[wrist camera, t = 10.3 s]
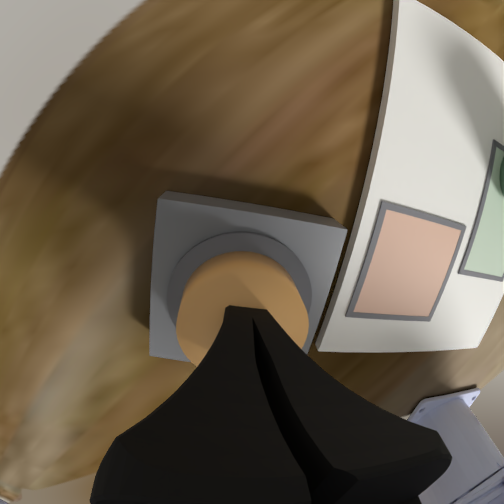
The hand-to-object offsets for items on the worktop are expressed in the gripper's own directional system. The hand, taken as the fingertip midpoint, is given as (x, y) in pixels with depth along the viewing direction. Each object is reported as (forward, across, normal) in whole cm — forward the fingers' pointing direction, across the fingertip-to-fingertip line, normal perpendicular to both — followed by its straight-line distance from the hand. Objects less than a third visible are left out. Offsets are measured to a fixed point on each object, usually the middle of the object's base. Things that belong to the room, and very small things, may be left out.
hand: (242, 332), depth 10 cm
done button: (+2, 0, 0) cm, 2 cm away
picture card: (+4, -11, -6) cm, 13 cm away
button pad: (+4, 0, 0) cm, 4 cm away
